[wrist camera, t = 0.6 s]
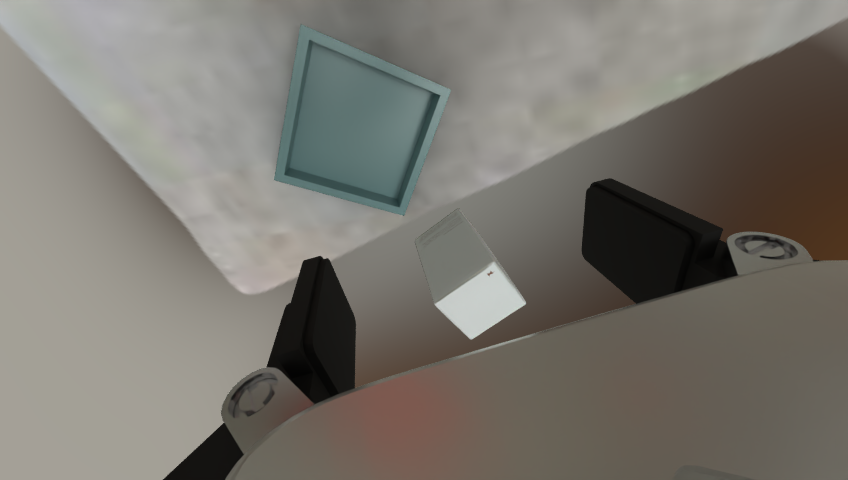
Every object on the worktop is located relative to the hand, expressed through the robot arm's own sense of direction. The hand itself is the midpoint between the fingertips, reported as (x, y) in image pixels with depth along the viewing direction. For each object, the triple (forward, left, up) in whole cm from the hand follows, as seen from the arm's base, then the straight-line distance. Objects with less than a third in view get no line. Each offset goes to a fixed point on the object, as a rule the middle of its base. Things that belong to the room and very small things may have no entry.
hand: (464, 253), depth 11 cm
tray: (+1, -3, -26) cm, 26 cm away
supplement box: (+11, +12, -26) cm, 31 cm away
